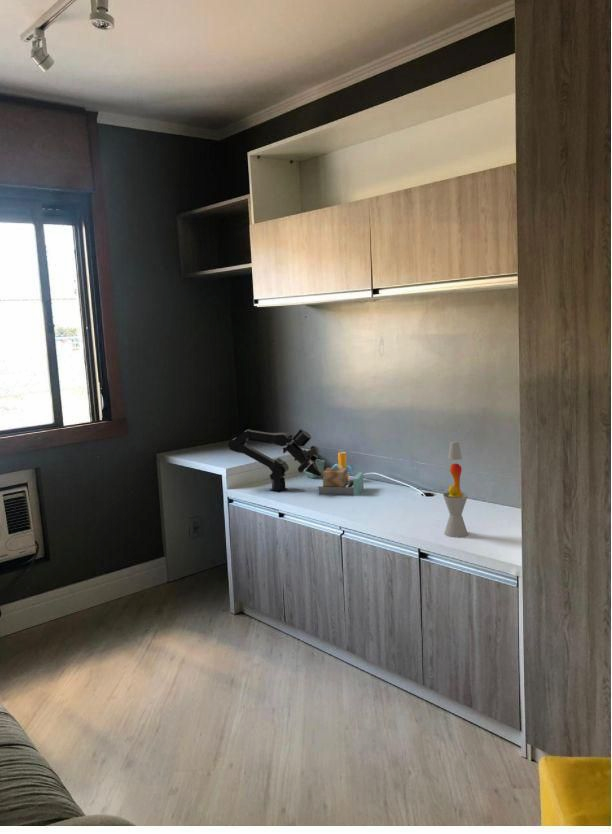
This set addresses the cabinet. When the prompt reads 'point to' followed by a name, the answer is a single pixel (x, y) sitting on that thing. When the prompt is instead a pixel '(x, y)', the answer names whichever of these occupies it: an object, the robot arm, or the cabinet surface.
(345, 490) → the roller bed
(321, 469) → the flower pot
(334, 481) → the brown wooden block
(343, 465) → the orange post with rings
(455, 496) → the lava lamp
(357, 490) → the stop bar
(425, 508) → the cabinet surface
